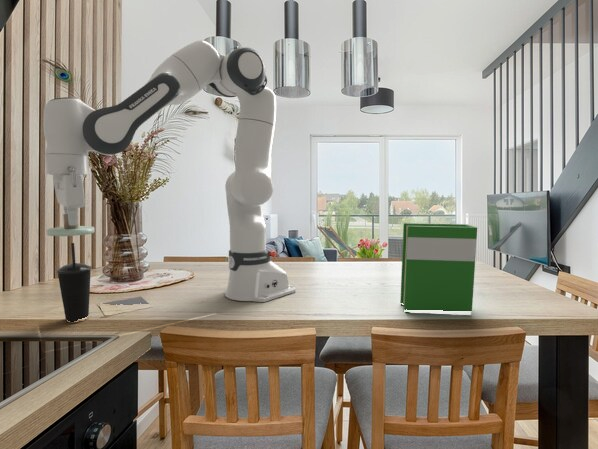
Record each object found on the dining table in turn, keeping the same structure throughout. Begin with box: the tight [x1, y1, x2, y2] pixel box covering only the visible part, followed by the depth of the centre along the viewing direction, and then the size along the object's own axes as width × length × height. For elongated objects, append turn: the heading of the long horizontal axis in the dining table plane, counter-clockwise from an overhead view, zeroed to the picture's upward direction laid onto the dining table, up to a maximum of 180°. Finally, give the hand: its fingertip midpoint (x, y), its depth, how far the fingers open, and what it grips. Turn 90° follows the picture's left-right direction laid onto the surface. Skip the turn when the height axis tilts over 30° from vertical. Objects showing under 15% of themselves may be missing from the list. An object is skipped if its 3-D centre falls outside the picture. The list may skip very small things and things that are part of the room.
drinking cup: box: [55, 242, 93, 322], centre depth 94 cm, size 8×8×20 cm
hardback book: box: [399, 222, 478, 312], centre depth 104 cm, size 18×7×24 cm, turn 84°
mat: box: [102, 296, 150, 305], centre depth 106 cm, size 12×12×1 cm
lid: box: [46, 213, 96, 237], centre depth 92 cm, size 10×10×5 cm
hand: (71, 224), depth 92 cm, fingers closed on lid, 3 cm apart
